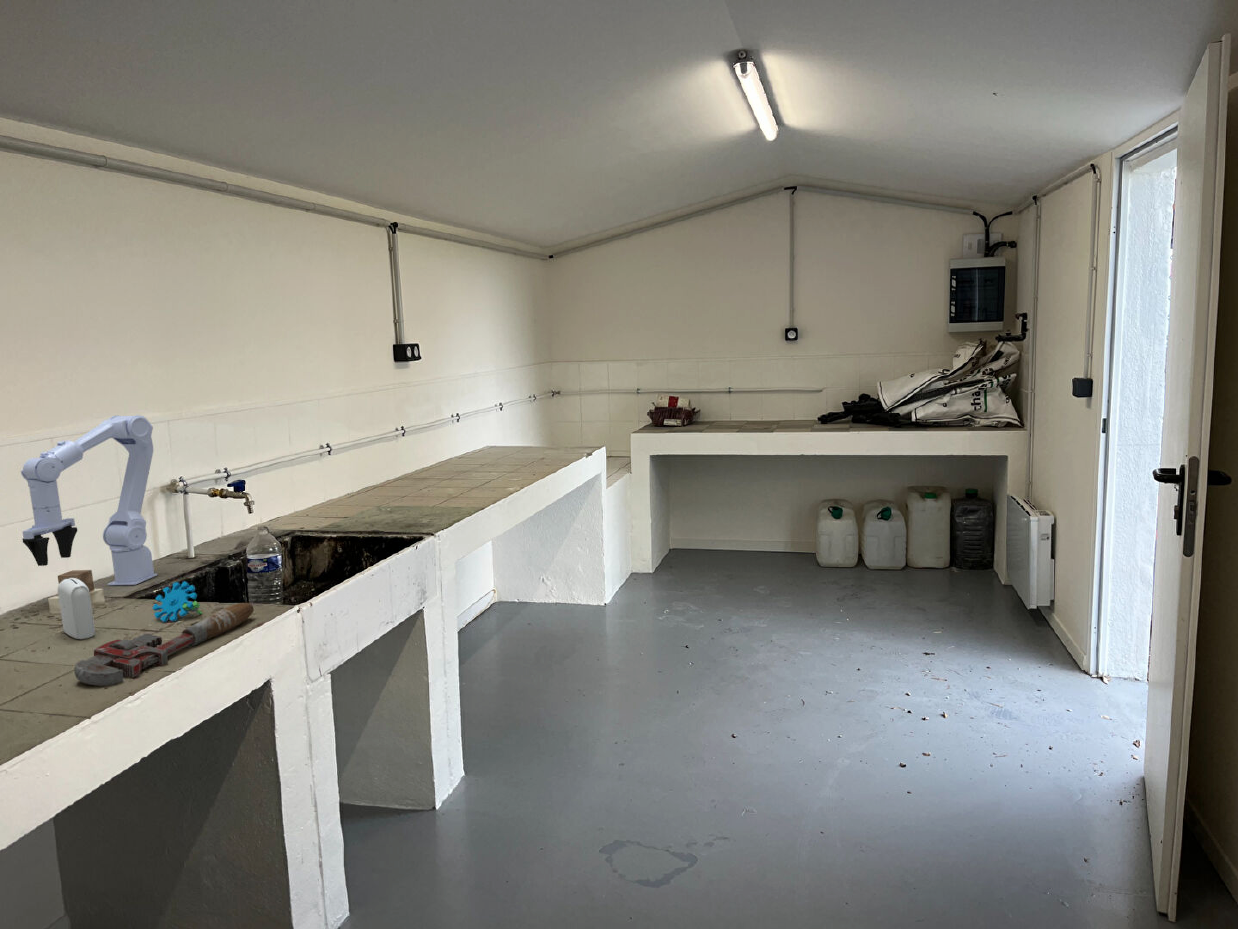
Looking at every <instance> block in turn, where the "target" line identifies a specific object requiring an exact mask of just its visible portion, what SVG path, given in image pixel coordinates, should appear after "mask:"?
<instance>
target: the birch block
mask: <svg viewBox="0 0 1238 929" xmlns="http://www.w3.org/2000/svg"><path fill="white" fill-rule="evenodd" d="M89 593H90V600H91V606H92V609H94V608H97V607H100V606H102V605H104V604H106V602H105V594H104V588H94V590H93V591H91V592H89ZM47 599H48V606H49V614H61V610H60V603H59V597H58V594H57V595H55V596H52V597H49V598H47Z"/></svg>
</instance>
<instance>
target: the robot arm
mask: <svg viewBox="0 0 1238 929" xmlns="http://www.w3.org/2000/svg"><path fill="white" fill-rule="evenodd" d="M153 429H154V427H153V425H152V424H151V422H150V421H149V420H148V418H147V417H145V416H144V415H139V414H137V415H113V416H110V418H109V419H108V418H107V419H105V420H103V421H102V422H101V423H100V424H99V425H97V426H96V427H94V428H92V429H91V430H90V431H88V432H86V433H85V434H84V435H82V436H81V437H79V438H77V439H76V440H74V441H72V440H60V441H58V442H56V444H57V445H56V446H55V447H53V448H51V449H49V450H48V451H42V452H41V453H40V455H39V457H32V458H29V459H28V460H26V461H25V463H24V464H23V466H22V470H20V474H21V476H22V477H23V479H24V480H26V481H27V486H28V487H29V488H28V489H29V495H30V501H31V502H30V503H31V508H32V513H33V519H34V520H33V521H34V524H33V525H32V526H31V527H30V528H28V529H25V530H23V531H22V536H23V538H22V539H21V540H22V543H23V545H25V546H26V547H27V548H28V550H29V551H30V552H31V554H32V555H33V558H34V560H35V562H36V564H37V566H38V567H41V566H42V567H43V566H44V567H47V566H48V565H49V556H48V546H49V541H50V537H44V536H43V535H46V534H47V535H48V534H51V533H52V535H53V536H54V539H55V540H56V544H57V548H58V553H59V555H60V558H63V559H64V558H66V559H69V558H71V556H72V549H73V543H74V540H75V537H76V534H77V532H78V527H77V526H76V523H75V522H76V521H75V518H74V517H73V518H72V517H71V518H69V517H67V518H64V519H63V516H62V509H61V502H60V494H59V488H58V482H57V480H58V479H59V478H60V476H61V473H62V472H64V471H65V470H67V469H68V468H70V467H72V466H73V465H75V464H77V463H78V462H80V461H82V459H83V456H84V453H85V452H87V451H89V450H92V448H95V447H96V446H98V445H100V444H102V443H104V442H106V441H107V440H110V439H113V440H115V441H116V442H117V443H119V444H120V445H121V446H123V447H124V448H125V450H126V452H128V456H127V464H126V466H125V467H126V468H125V472H124V477H123V481H122V482H123V483H122V486H121V490H120V491H121V492H120V496H119V500H118V505H117V506H118V507H117V510H116V511H115V513H113V514H112V516H110V517H109V520H108V523H107V525H106V527H105V528H104V529H103V532H102V539H103V542H104V544H106V545H107V546H108V547H109V550H110V552H111V558H112V559H111V560H112V566H113V574H114V580H113V581H110V582H109V583H107V586H134V585H135V586H136V585H137V584H138V585H139V584H140V583H142V582H143V583H144V582H145V581H147V580H150V579H152V578H154V577H156V576H158V574H157V573H155V570H154V564H153V563H154V562H153V556H152V551H151V549H150V548H149V547H148V546H146V545H144V544H145V542H146V541H147V536H148V534H147V531H146V530H147V529H146V527H147V526H146V525H147V521H146V520H145V518H144V517H143V516H142V508H143V505H144V498H145V494H146V489H147V484H148V479H149V474H150V470H151V465H152V459H153V453H154V444H153V439H152V438H153V437H152V433H153Z"/></svg>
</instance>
